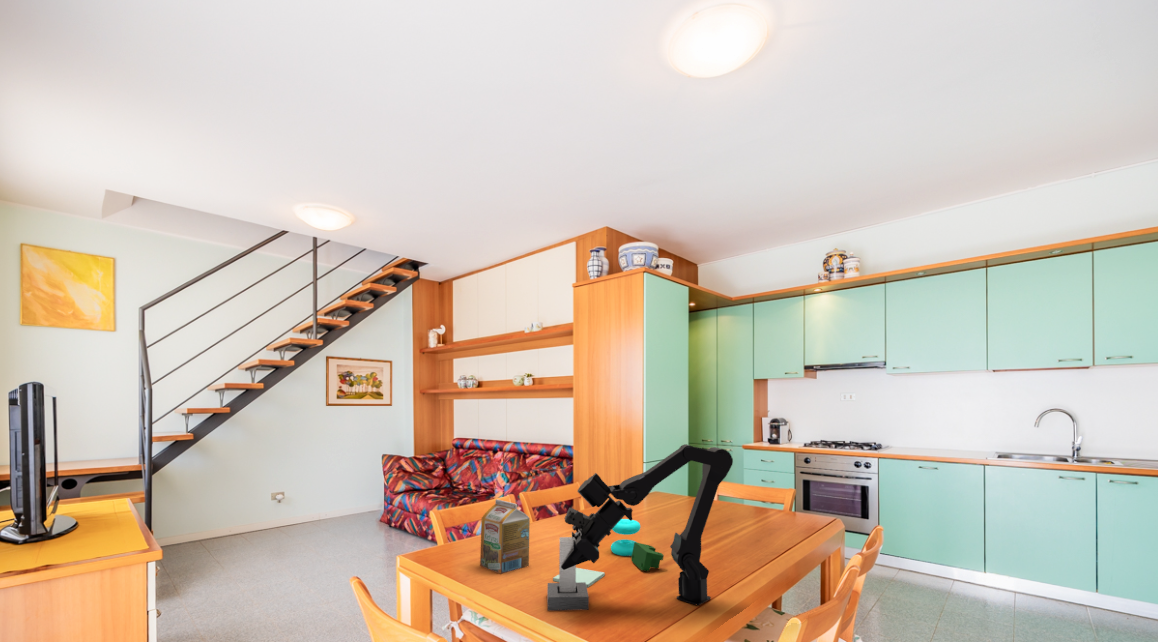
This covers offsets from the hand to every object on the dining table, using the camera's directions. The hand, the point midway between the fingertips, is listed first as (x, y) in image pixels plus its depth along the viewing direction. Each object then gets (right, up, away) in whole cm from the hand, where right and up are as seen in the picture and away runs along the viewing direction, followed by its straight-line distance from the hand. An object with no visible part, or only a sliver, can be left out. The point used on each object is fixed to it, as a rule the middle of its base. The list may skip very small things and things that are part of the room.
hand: (562, 565), depth 134 cm
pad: (+4, -11, +16) cm, 20 cm away
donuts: (+20, -15, +41) cm, 48 cm away
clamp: (+25, -13, +27) cm, 40 cm away
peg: (+1, -7, -1) cm, 7 cm away
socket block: (+1, -9, -1) cm, 9 cm away
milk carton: (-19, -13, +27) cm, 35 cm away
